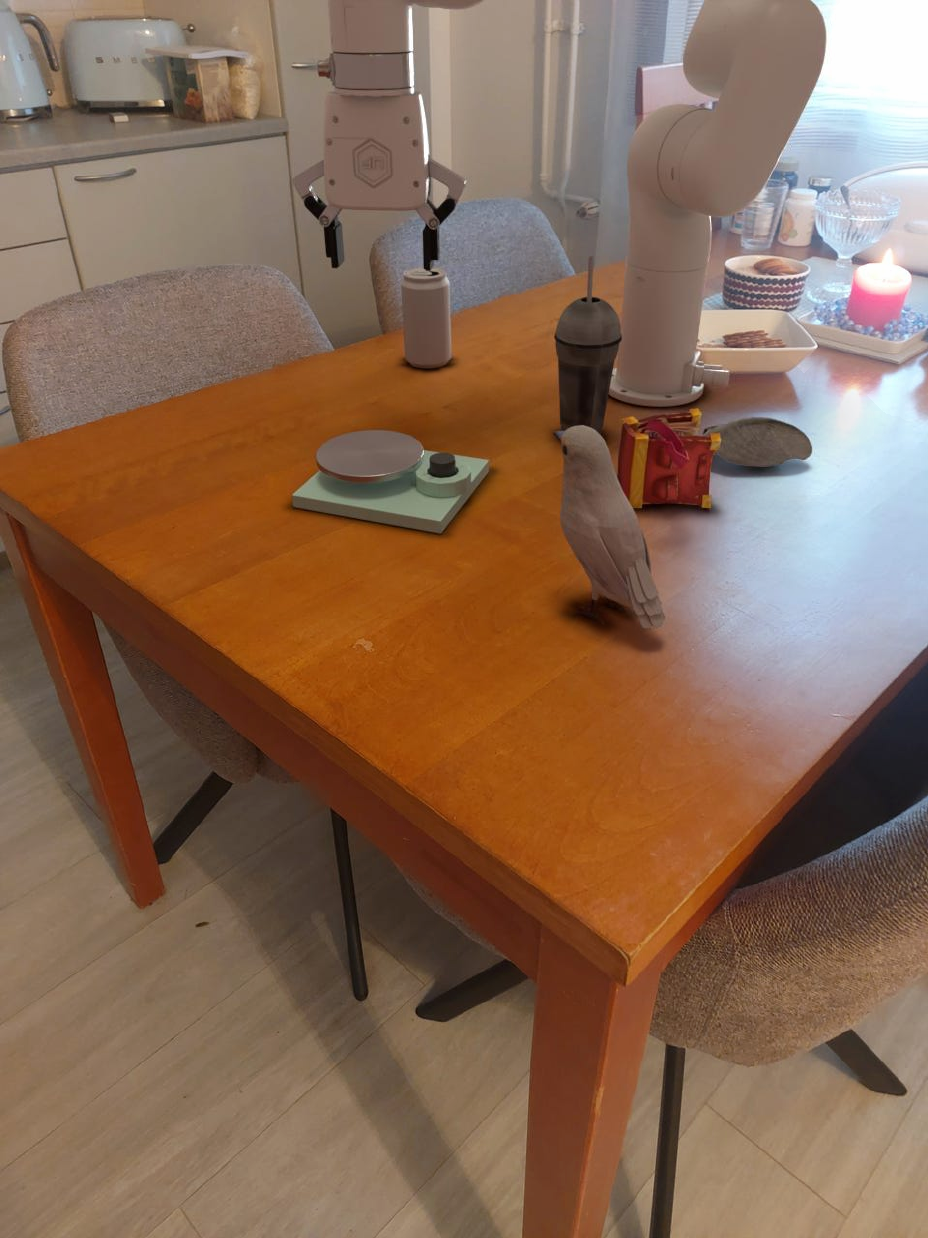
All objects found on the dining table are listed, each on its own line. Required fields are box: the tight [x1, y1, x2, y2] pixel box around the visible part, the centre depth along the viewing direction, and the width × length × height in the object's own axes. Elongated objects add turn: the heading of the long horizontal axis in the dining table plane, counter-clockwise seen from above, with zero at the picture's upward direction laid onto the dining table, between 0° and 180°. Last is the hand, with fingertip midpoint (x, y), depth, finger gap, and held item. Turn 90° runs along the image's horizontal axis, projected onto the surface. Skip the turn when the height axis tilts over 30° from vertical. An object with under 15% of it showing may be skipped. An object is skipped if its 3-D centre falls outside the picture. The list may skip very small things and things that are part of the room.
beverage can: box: [400, 266, 452, 369], centre depth 120 cm, size 6×6×12 cm
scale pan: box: [315, 429, 425, 483], centre depth 91 cm, size 11×11×1 cm
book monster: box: [616, 408, 721, 509], centre depth 86 cm, size 11×9×12 cm
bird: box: [552, 425, 666, 629], centre depth 70 cm, size 5×14×15 cm, turn 36°
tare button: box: [429, 452, 456, 478], centre depth 89 cm, size 3×3×2 cm
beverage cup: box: [553, 255, 622, 436], centre depth 97 cm, size 7×7×20 cm
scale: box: [291, 449, 490, 535], centre depth 92 cm, size 16×14×3 cm
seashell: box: [700, 416, 813, 468], centre depth 96 cm, size 12×8×5 cm
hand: (383, 266), depth 93 cm, fingers open, 9 cm apart
